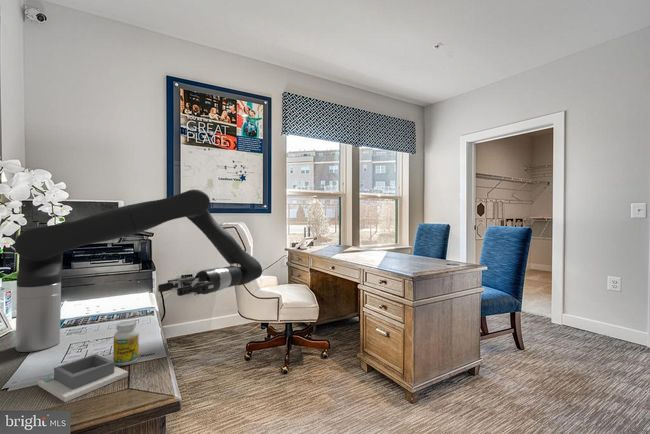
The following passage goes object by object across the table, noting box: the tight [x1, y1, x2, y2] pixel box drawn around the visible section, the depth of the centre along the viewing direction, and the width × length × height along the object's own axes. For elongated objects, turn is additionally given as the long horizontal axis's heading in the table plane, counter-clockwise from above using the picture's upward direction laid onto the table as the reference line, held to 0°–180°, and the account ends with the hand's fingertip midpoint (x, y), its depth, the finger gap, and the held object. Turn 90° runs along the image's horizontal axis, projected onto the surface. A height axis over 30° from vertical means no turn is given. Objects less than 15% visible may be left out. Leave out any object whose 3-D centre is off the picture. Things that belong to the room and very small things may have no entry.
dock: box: [37, 353, 129, 403], centre depth 71 cm, size 12×12×4 cm
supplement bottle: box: [112, 320, 140, 366], centre depth 80 cm, size 5×5×10 cm
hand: (168, 290), depth 90 cm, fingers open, 8 cm apart
